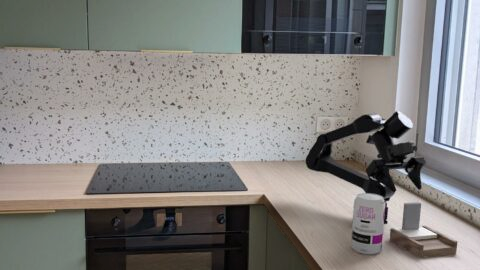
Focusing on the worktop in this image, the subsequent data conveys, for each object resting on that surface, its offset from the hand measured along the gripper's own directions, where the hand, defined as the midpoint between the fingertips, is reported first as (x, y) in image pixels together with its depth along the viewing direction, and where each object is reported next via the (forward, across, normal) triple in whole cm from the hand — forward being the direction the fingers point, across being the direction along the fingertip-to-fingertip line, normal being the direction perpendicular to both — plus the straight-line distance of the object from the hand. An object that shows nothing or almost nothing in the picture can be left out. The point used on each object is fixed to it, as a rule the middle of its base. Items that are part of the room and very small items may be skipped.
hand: (407, 190), depth 156 cm
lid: (+13, -2, +4) cm, 13 cm away
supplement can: (+14, -19, +5) cm, 24 cm away
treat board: (+16, -2, +3) cm, 17 cm away
